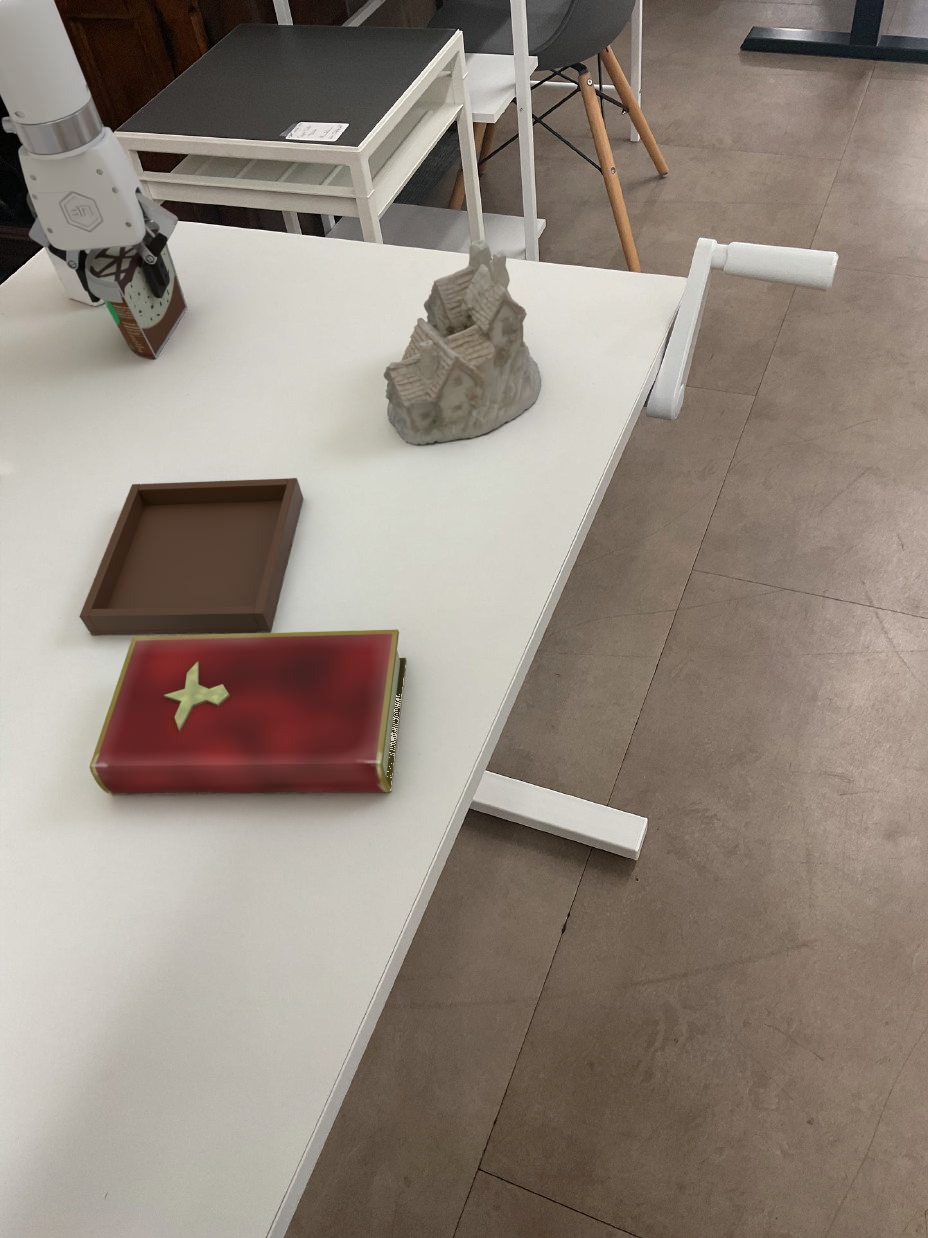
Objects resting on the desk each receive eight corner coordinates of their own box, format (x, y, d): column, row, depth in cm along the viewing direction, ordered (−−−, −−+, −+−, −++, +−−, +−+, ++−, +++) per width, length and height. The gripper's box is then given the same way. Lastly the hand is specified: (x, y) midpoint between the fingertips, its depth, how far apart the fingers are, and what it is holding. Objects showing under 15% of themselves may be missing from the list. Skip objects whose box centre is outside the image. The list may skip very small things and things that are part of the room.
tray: (91, 635, 84) (78, 616, 82) (141, 503, 94) (131, 483, 92) (270, 632, 82) (262, 613, 80) (303, 497, 92) (296, 477, 90)
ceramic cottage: (509, 317, 105) (488, 185, 93) (562, 416, 95) (545, 282, 83) (367, 364, 105) (327, 237, 93) (406, 468, 95) (366, 341, 83)
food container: (143, 299, 116) (109, 218, 109) (192, 300, 115) (161, 218, 107) (99, 366, 109) (59, 284, 101) (150, 367, 108) (114, 284, 100)
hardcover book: (390, 797, 71) (380, 766, 68) (109, 798, 74) (86, 769, 71) (406, 660, 79) (397, 627, 76) (150, 666, 81) (131, 634, 78)
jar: (83, 266, 123) (39, 171, 113) (147, 261, 122) (108, 164, 112) (61, 309, 117) (13, 213, 108) (128, 304, 116) (86, 206, 107)
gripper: (-41, 152, 93) (44, 318, 107) (136, 137, 91) (199, 308, 105) (-12, 114, 98) (66, 278, 112) (157, 98, 96) (216, 268, 109)
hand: (130, 291), depth 108 cm, fingers closed on food container, 6 cm apart
